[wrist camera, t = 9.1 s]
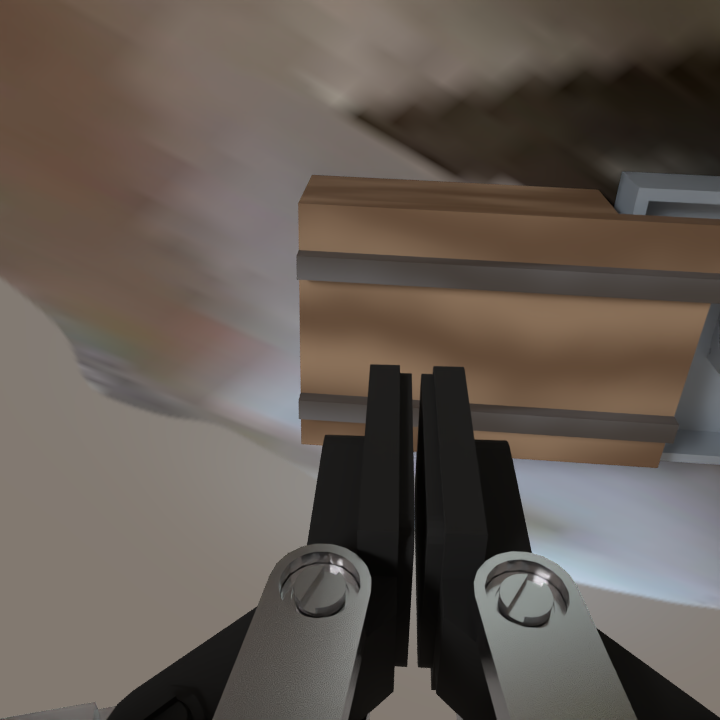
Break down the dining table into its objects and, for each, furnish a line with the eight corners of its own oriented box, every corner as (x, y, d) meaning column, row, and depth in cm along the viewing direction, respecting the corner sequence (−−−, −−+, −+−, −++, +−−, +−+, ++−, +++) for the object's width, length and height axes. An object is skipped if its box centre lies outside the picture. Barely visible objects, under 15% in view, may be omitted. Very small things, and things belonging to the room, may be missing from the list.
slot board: (312, 175, 36) (295, 208, 31) (696, 194, 35) (743, 232, 30) (312, 396, 43) (299, 452, 38) (632, 416, 42) (661, 477, 37)
